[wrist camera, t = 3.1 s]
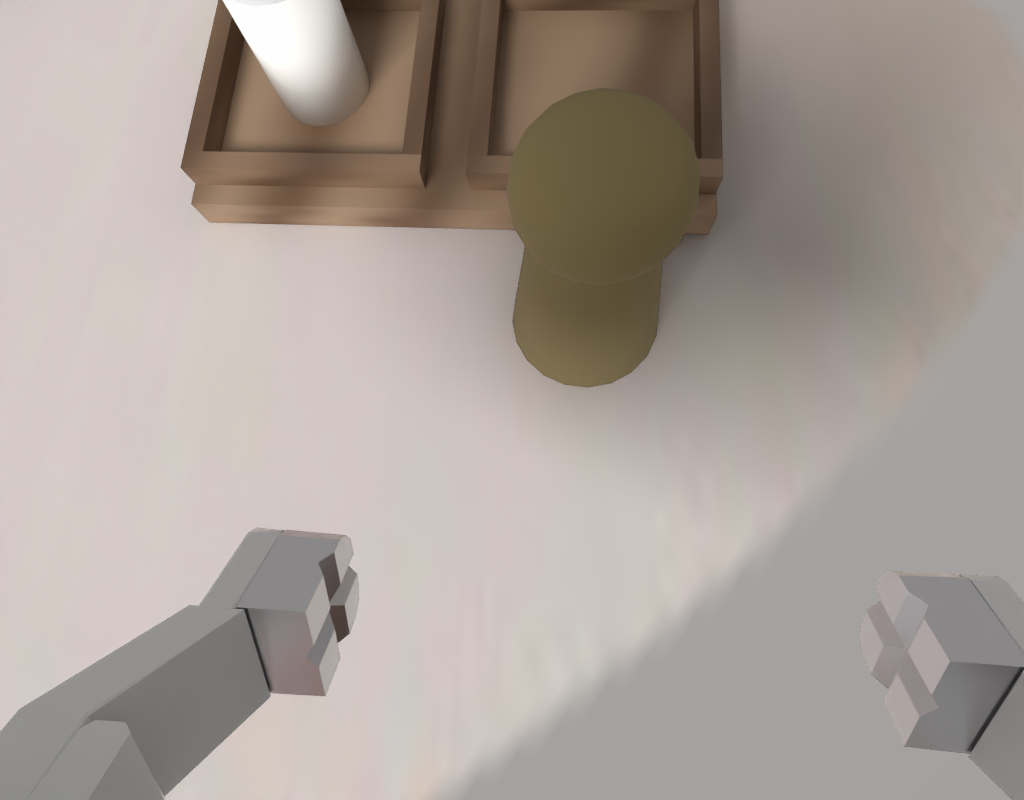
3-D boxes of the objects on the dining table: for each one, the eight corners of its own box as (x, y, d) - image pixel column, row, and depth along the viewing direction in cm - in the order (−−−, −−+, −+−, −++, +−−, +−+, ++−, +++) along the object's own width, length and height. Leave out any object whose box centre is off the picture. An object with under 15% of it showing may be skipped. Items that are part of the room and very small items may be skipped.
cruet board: (209, 222, 28) (175, 187, 26) (253, 8, 31) (226, -42, 29) (708, 234, 27) (724, 198, 24) (704, 7, 30) (718, -47, 27)
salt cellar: (275, 125, 28) (173, -36, 20) (289, 50, 29) (197, -129, 21) (363, 126, 27) (293, -37, 20) (374, 51, 28) (311, -131, 21)
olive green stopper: (564, 227, 27) (572, 12, 17) (685, 298, 26) (777, 115, 15) (484, 336, 26) (437, 180, 16) (606, 415, 25) (646, 305, 14)
